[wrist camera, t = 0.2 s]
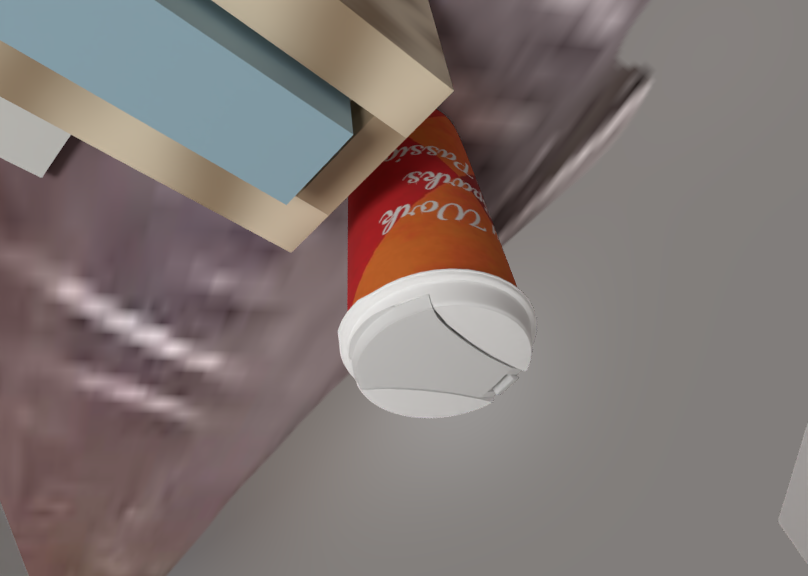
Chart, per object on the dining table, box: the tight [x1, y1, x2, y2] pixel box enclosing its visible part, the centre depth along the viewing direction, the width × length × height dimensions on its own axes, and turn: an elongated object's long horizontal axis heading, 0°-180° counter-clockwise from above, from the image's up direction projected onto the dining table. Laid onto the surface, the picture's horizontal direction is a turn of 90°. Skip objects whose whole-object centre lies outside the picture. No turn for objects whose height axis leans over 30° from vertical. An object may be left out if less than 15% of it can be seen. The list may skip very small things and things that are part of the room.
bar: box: [0, 0, 353, 205], centre depth 24 cm, size 17×4×4 cm, turn 48°
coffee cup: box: [338, 109, 537, 418], centre depth 35 cm, size 8×8×15 cm
